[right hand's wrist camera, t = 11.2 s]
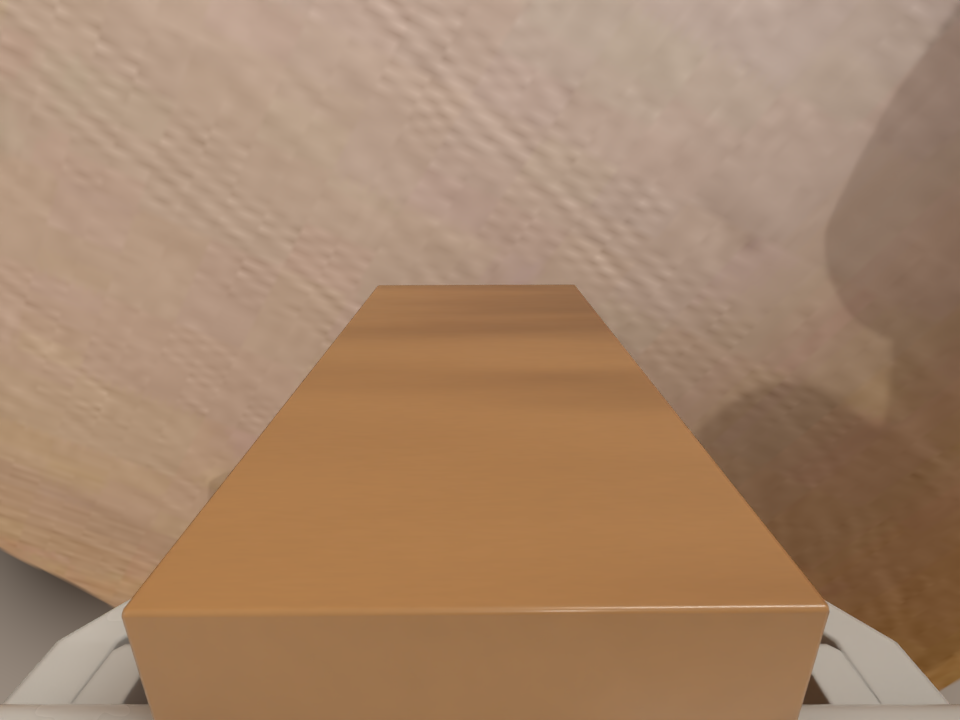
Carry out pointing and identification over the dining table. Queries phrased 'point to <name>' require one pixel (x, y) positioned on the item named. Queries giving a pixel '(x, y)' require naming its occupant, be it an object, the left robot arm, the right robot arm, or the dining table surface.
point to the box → (476, 540)
